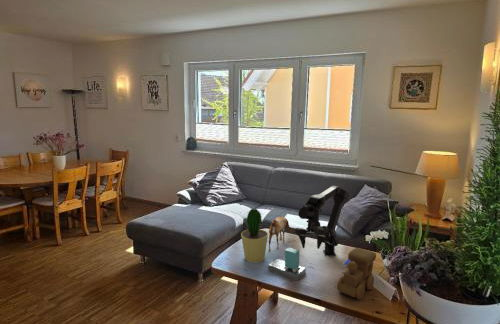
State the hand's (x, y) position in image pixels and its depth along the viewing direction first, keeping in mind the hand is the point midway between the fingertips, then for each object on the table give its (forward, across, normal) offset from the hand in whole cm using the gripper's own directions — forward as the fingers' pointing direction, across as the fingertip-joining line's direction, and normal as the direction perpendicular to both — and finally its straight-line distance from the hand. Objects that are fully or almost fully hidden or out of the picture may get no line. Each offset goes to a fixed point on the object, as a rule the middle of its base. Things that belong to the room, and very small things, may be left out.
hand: (310, 248), depth 169 cm
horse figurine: (+5, -1, +31) cm, 31 cm away
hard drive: (+7, +26, -4) cm, 27 cm away
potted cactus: (+11, -22, +23) cm, 34 cm away
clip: (+13, -10, -1) cm, 17 cm away
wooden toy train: (+14, +11, -25) cm, 30 cm away
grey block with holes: (+13, -12, +2) cm, 18 cm away
